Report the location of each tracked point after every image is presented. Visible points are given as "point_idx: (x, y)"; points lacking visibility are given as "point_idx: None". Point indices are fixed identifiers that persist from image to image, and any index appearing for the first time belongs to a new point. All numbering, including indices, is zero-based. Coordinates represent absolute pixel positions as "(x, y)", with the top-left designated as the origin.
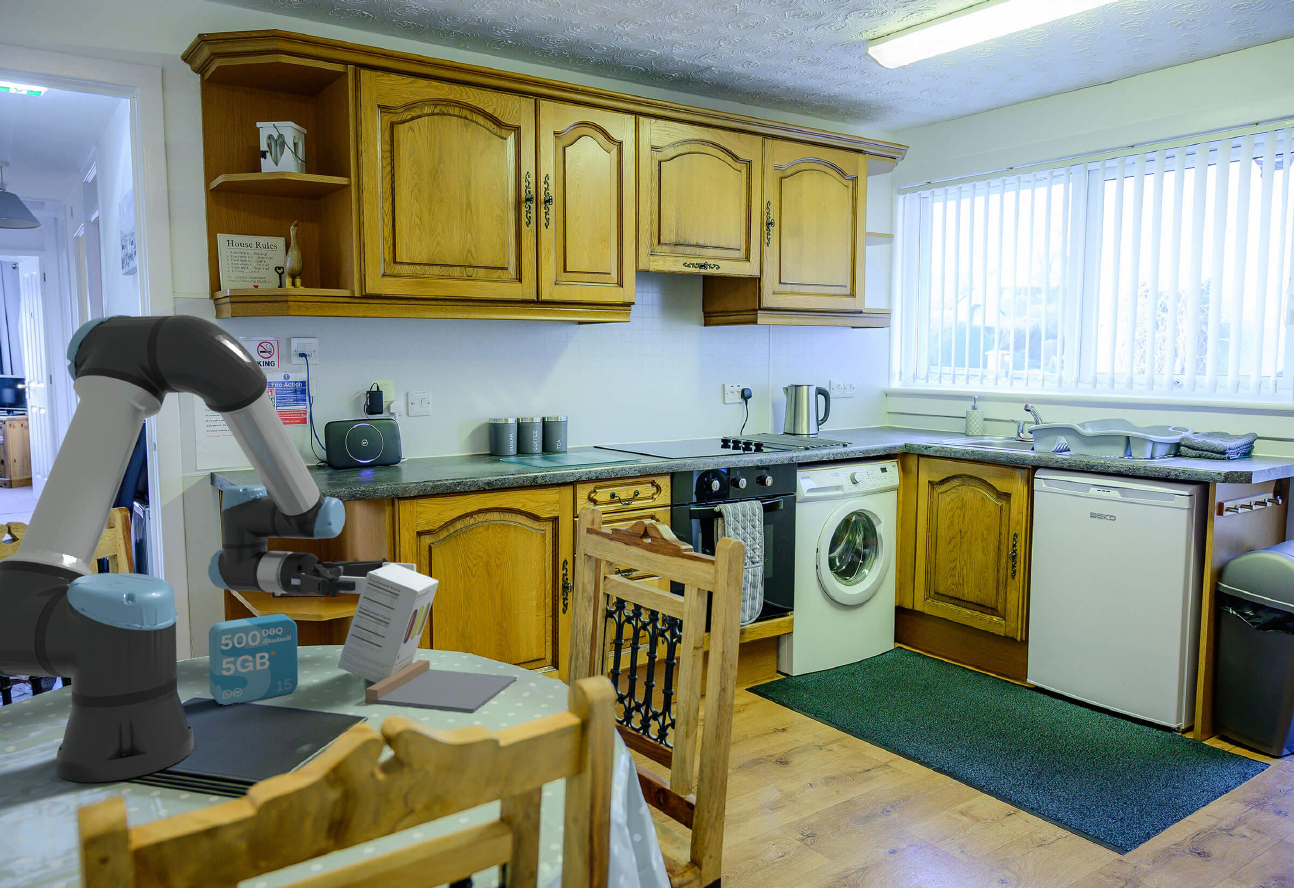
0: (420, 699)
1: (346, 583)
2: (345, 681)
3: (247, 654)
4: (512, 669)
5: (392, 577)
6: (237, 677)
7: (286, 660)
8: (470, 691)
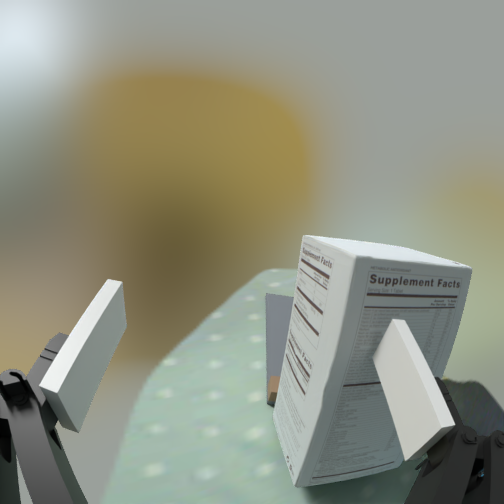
0: None
1: (445, 394)
2: (359, 485)
3: None
4: (226, 304)
5: (423, 254)
6: None
7: None
8: None
